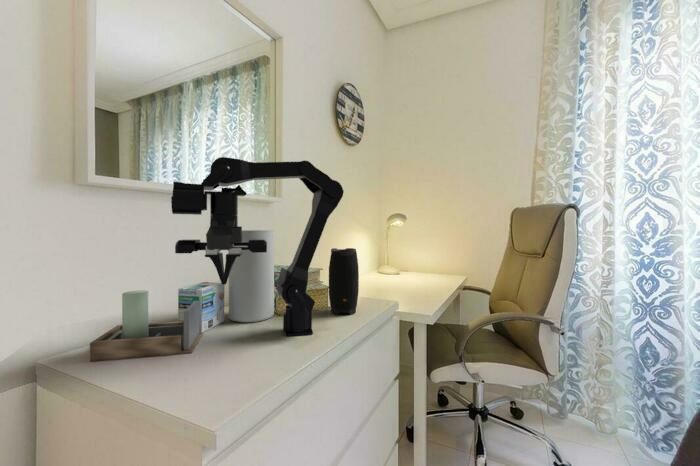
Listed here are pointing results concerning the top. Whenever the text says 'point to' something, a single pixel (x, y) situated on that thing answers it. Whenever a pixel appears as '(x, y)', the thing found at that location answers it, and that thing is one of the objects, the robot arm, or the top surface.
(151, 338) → the dock
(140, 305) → the pale green cylinder
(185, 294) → the light bulb box
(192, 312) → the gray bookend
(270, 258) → the cylinder vase
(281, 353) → the top surface
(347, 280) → the portable speaker
